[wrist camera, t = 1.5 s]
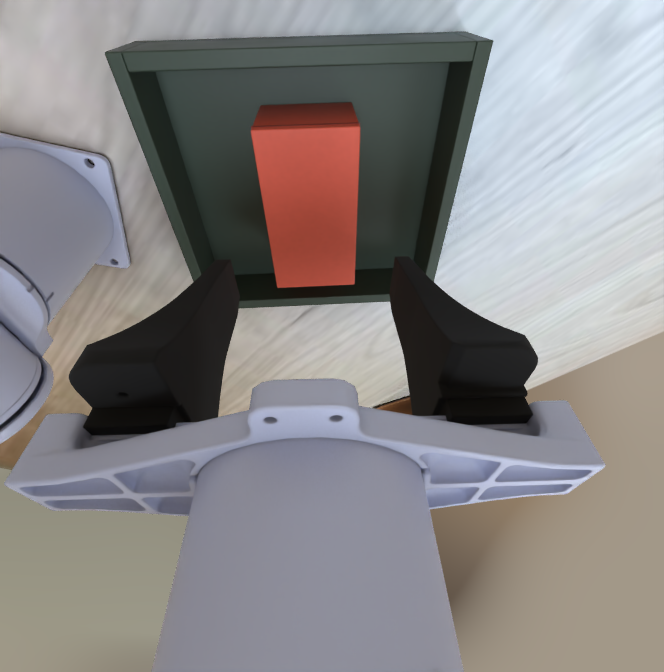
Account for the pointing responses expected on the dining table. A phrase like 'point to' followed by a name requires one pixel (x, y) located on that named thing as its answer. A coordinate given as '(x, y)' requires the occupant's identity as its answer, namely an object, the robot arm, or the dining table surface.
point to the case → (309, 190)
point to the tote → (305, 88)
